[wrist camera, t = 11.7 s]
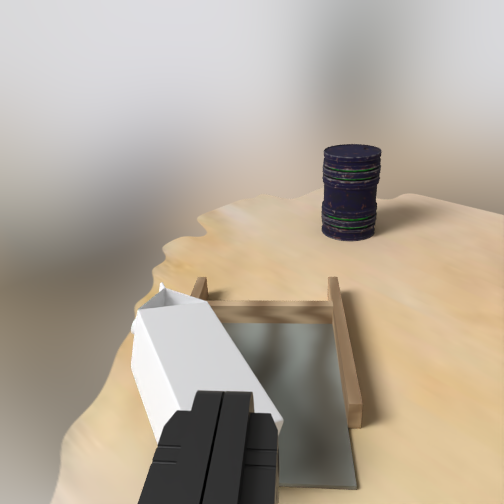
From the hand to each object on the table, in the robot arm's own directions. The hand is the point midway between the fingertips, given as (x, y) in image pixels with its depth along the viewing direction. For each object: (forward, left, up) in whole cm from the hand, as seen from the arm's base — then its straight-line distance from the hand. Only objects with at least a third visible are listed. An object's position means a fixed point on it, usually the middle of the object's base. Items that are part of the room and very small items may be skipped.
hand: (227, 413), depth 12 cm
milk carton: (+2, -12, -19) cm, 22 cm away
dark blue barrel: (-12, -65, -23) cm, 70 cm away
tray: (+2, -28, -23) cm, 36 cm away
